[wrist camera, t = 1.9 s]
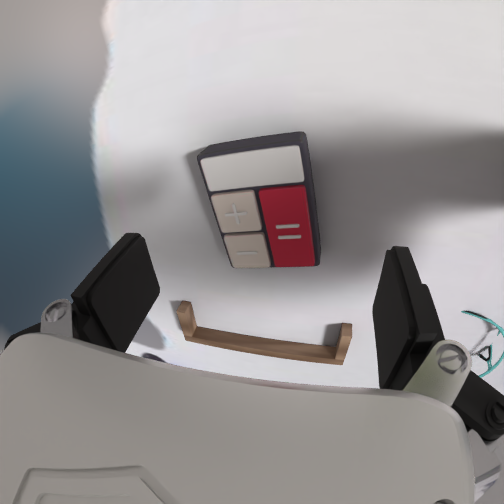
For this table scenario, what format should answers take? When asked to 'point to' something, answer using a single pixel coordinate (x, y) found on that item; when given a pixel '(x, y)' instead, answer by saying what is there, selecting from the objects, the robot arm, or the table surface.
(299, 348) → the holder
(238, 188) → the calculator
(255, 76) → the table surface
